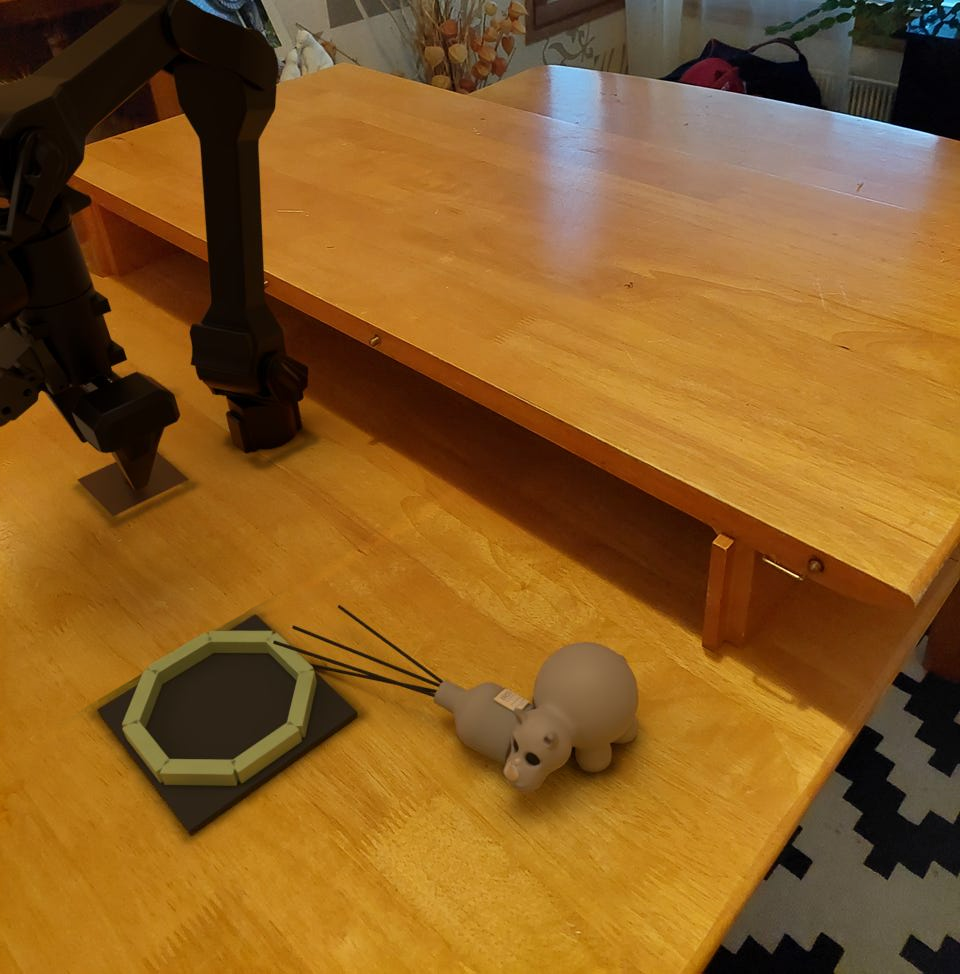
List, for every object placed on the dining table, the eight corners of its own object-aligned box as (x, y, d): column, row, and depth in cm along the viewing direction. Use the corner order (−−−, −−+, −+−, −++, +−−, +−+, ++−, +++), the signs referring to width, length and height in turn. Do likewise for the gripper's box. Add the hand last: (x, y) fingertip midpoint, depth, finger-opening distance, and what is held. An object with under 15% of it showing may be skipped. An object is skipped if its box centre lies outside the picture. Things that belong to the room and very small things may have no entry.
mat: (257, 618, 77) (255, 613, 77) (358, 716, 69) (357, 711, 69) (99, 714, 70) (96, 709, 70) (191, 835, 62) (188, 830, 62)
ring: (252, 617, 77) (249, 605, 76) (347, 709, 69) (345, 697, 68) (102, 707, 70) (97, 695, 69) (189, 821, 62) (184, 809, 61)
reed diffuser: (512, 741, 59) (273, 607, 67) (484, 823, 62) (257, 686, 69) (572, 679, 68) (355, 567, 76) (546, 753, 71) (339, 638, 78)
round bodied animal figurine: (467, 782, 65) (460, 705, 59) (577, 681, 71) (580, 604, 66) (544, 847, 61) (545, 772, 55) (654, 734, 67) (664, 657, 62)
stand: (153, 453, 96) (136, 400, 92) (191, 486, 92) (175, 433, 88) (79, 487, 92) (59, 434, 88) (115, 524, 88) (95, 470, 84)
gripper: (-113, 288, 67) (-30, 459, 77) (-11, 384, 56) (70, 569, 66) (36, 238, 72) (96, 403, 82) (154, 316, 62) (207, 495, 72)
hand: (113, 463), depth 75 cm, fingers open, 9 cm apart
